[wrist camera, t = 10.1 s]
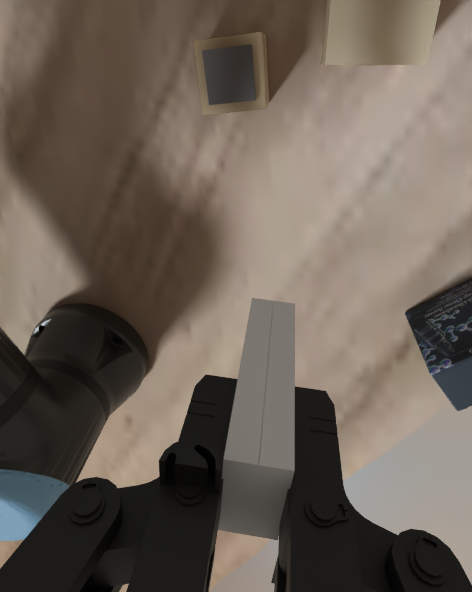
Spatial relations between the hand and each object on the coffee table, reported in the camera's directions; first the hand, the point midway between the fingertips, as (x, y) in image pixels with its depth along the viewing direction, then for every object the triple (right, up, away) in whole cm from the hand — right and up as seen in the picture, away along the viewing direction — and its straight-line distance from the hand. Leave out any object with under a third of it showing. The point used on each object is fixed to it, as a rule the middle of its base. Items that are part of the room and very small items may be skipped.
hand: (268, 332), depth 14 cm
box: (+22, 0, +29) cm, 37 cm away
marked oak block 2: (-1, +21, +20) cm, 29 cm away
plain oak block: (+9, +24, +17) cm, 31 cm away
